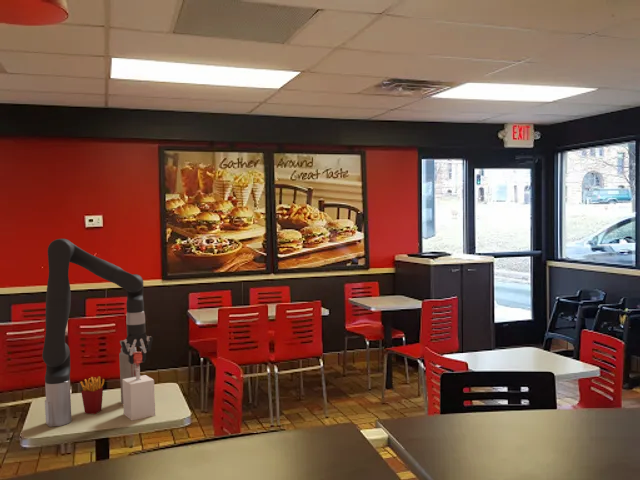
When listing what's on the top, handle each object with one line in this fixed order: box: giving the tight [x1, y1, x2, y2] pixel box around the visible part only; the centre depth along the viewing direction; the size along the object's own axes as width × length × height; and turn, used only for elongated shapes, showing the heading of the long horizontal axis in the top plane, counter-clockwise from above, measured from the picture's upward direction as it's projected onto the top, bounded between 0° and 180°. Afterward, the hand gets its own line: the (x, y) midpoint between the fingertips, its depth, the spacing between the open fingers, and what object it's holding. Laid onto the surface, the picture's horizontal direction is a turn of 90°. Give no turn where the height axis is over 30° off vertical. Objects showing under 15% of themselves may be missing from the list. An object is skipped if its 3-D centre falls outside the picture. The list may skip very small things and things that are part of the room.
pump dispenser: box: [122, 374, 156, 421], centre depth 253 cm, size 10×10×15 cm
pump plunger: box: [132, 351, 144, 381], centre depth 252 cm, size 4×4×20 cm
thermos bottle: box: [119, 342, 138, 405], centre depth 270 cm, size 8×8×28 cm
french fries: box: [79, 376, 106, 415], centre depth 259 cm, size 9×8×15 cm
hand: (137, 362), depth 252 cm, fingers closed on pump plunger, 4 cm apart
